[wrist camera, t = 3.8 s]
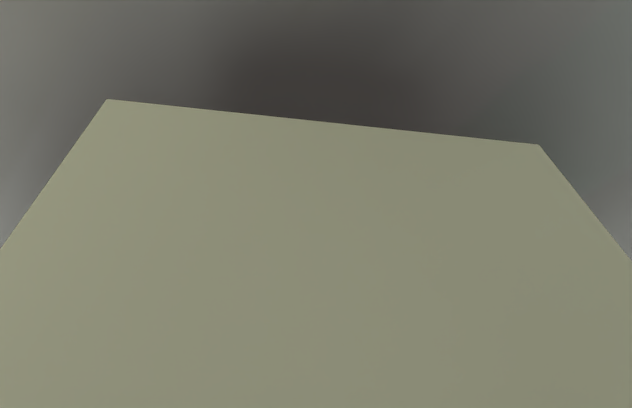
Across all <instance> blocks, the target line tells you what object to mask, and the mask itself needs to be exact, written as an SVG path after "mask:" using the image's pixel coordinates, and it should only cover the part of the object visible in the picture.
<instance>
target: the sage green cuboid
mask: <svg viewBox="0 0 632 408" xmlns="http://www.w3.org/2000/svg"><path fill="white" fill-rule="evenodd" d="M0 408H632V261H631V260H630V259H629V258H628V256H627V255H626V254H625V252H624V251H623V250H622V249H621V247H620V246H619V245H618V244H617V242H616V241H615V240H614V239H613V237H612V236H611V235H610V234H609V232H608V231H607V230H606V229H605V227H604V226H603V225H602V224H601V222H600V221H599V220H598V218H597V217H596V216H595V215H594V213H593V212H592V211H591V210H590V208H589V207H588V206H587V205H586V203H585V202H584V201H583V200H582V198H581V197H580V196H579V195H578V193H577V192H576V191H575V190H574V188H573V187H572V186H571V184H570V183H569V182H568V181H567V179H566V178H565V177H564V176H563V174H562V173H561V172H560V171H559V169H558V168H557V167H556V166H555V164H554V163H553V162H552V161H551V159H550V158H549V157H548V156H547V154H546V153H545V152H544V150H543V149H542V148H541V147H540V145H538V144H528V143H519V142H509V141H500V140H490V139H481V138H471V137H462V136H453V135H443V134H434V133H424V132H415V131H405V130H396V129H386V128H377V127H368V126H358V125H349V124H339V123H330V122H320V121H311V120H301V119H292V118H282V117H273V116H264V115H254V114H245V113H235V112H226V111H216V110H207V109H197V108H188V107H178V106H169V105H160V104H150V103H141V102H131V101H122V100H112V99H106V101H105V102H104V104H103V105H102V106H101V108H100V109H99V111H98V112H97V114H96V115H95V116H94V118H93V119H92V121H91V122H90V123H89V125H88V126H87V128H86V129H85V130H84V132H83V133H82V135H81V136H80V137H79V139H78V140H77V142H76V143H75V145H74V146H73V147H72V149H71V150H70V152H69V153H68V154H67V156H66V157H65V159H64V160H63V161H62V163H61V164H60V166H59V167H58V168H57V170H56V171H55V173H54V174H53V176H52V177H51V178H50V180H49V181H48V183H47V184H46V185H45V187H44V188H43V190H42V191H41V192H40V194H39V195H38V197H37V198H36V199H35V201H34V202H33V204H32V205H31V207H30V208H29V209H28V211H27V212H26V214H25V215H24V216H23V218H22V219H21V221H20V222H19V223H18V225H17V226H16V228H15V229H14V230H13V232H12V233H11V235H10V236H9V238H8V239H7V240H6V242H5V243H4V245H3V246H2V247H1V249H0Z"/></svg>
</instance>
